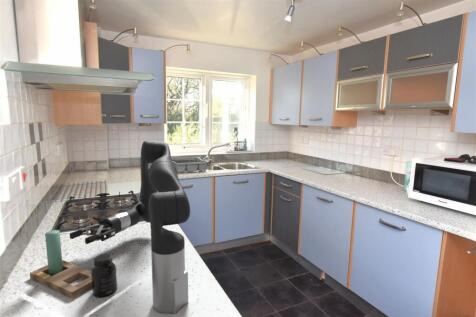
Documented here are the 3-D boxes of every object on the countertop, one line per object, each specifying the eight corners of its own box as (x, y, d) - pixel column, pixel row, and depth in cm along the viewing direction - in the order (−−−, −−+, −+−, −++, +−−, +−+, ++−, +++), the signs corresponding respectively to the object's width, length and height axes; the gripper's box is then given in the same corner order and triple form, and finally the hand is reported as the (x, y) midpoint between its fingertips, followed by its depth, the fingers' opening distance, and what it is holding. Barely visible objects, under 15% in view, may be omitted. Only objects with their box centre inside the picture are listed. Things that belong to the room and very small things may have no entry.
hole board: (102, 284, 92) (102, 275, 91) (72, 301, 83) (72, 291, 82) (61, 267, 101) (60, 258, 101) (30, 281, 93) (29, 272, 92)
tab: (113, 265, 103) (113, 263, 103) (91, 278, 95) (90, 275, 95) (97, 259, 107) (96, 257, 107) (74, 271, 99) (73, 268, 99)
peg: (66, 276, 95) (62, 231, 93) (53, 282, 92) (49, 236, 90) (59, 273, 97) (55, 229, 95) (46, 279, 94) (42, 233, 91)
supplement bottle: (89, 293, 87) (86, 256, 85) (112, 284, 91) (110, 249, 90) (97, 304, 82) (94, 265, 80) (121, 294, 87) (119, 257, 85)
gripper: (103, 211, 117) (64, 225, 103) (128, 217, 111) (90, 232, 97) (104, 229, 118) (66, 244, 104) (128, 236, 112) (91, 253, 98)
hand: (77, 238), depth 100 cm, fingers open, 8 cm apart
